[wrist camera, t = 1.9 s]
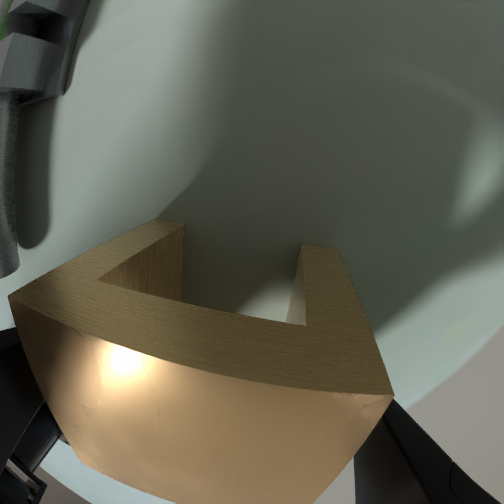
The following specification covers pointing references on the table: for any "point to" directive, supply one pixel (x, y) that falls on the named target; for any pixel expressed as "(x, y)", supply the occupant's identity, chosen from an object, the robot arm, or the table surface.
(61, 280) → the open tan box
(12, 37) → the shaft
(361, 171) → the table surface
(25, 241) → the table surface
